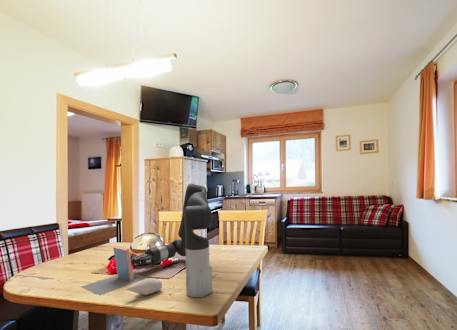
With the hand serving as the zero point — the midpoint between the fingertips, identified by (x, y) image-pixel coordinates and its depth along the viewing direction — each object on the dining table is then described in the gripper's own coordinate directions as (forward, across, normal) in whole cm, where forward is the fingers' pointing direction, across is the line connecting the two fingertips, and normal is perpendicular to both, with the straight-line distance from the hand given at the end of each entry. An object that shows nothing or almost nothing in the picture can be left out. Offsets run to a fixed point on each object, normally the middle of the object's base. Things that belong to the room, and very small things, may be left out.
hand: (125, 263), depth 120 cm
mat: (+5, 0, +7) cm, 9 cm away
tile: (0, 0, +6) cm, 6 cm away
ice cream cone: (+6, +22, +7) cm, 24 cm away
